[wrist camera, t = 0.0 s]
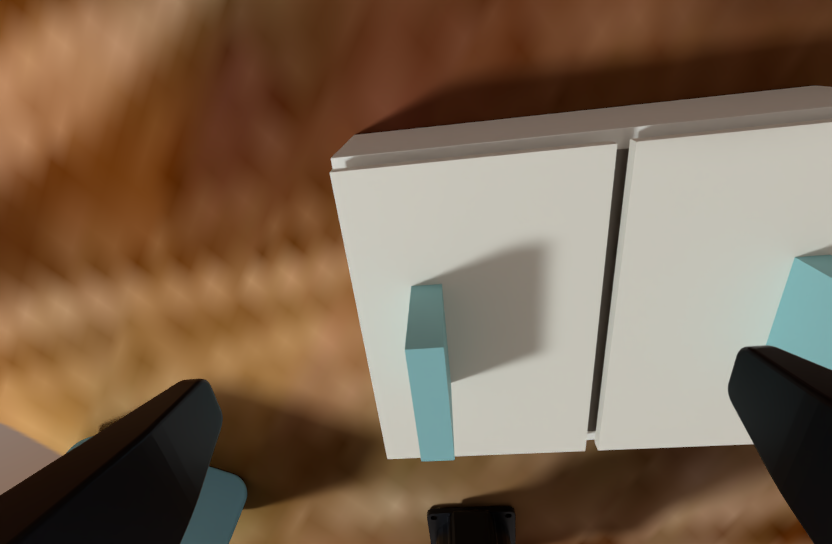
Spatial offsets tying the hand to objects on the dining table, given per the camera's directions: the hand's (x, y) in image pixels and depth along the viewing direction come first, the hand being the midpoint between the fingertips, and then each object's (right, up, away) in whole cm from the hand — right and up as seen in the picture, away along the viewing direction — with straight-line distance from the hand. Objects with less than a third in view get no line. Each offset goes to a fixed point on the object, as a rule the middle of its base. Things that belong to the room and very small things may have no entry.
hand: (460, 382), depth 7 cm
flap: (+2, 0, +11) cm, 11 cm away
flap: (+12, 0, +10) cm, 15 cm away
